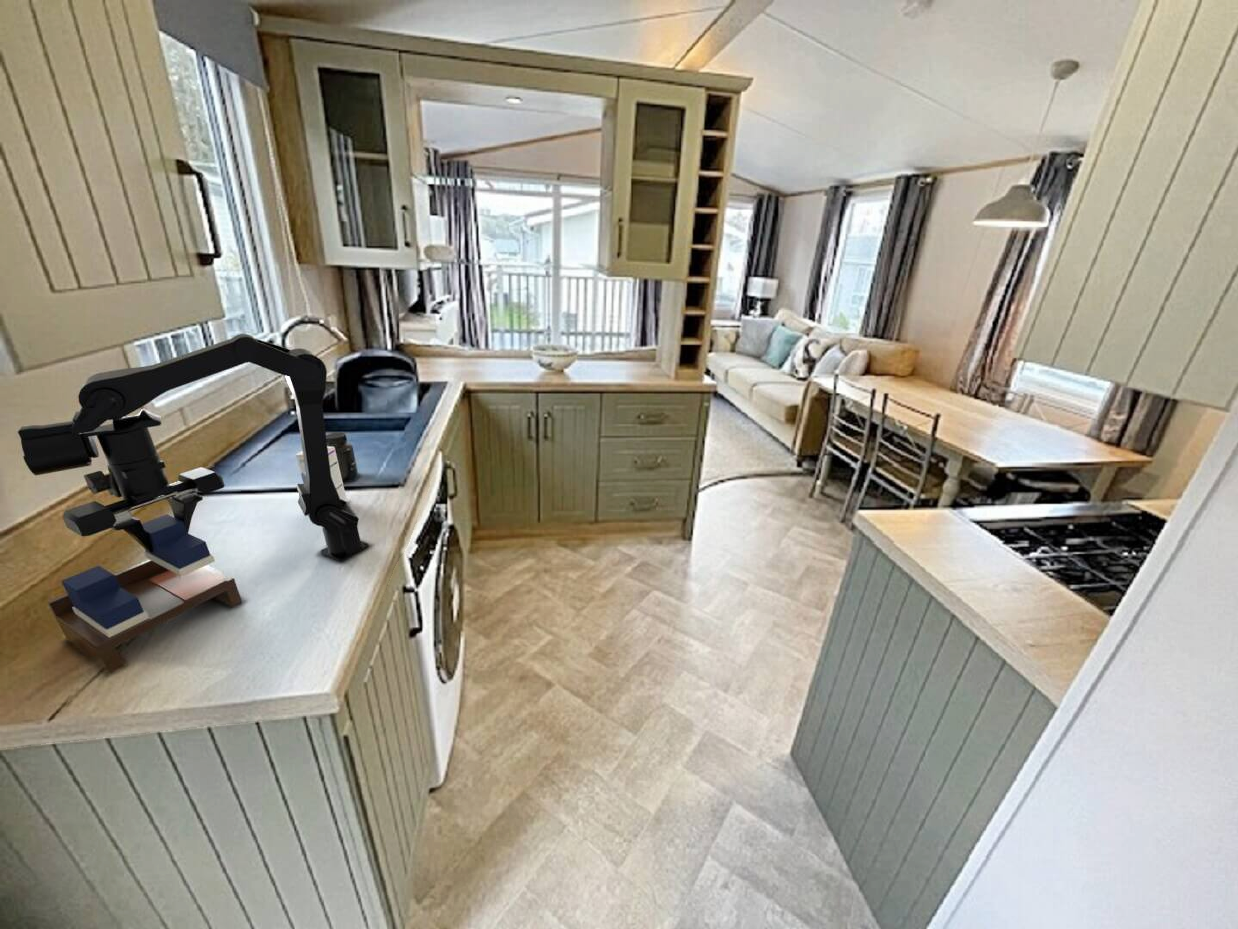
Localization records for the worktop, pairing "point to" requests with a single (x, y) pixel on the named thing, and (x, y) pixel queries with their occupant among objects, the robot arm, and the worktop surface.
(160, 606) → the shoe rack
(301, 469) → the syrup box
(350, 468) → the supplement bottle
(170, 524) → the trainer
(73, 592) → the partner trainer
